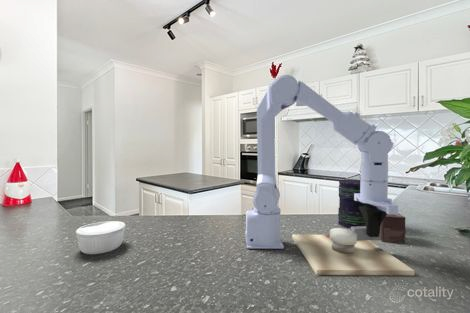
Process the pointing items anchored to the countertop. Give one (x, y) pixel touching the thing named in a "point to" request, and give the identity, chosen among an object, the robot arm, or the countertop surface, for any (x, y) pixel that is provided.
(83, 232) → the ramekin
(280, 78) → the robot arm
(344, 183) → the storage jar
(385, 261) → the post board
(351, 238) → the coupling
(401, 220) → the box
